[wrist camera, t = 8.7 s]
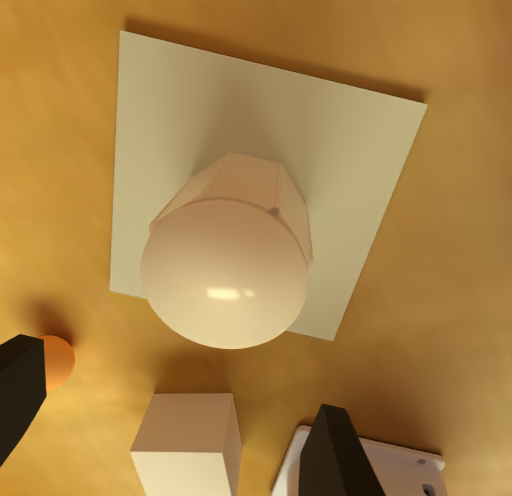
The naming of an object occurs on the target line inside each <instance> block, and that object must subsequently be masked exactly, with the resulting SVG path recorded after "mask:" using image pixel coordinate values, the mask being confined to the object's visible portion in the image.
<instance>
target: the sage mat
mask: <svg viewBox="0 0 512 496" xmlns="http://www.w3.org/2000/svg"><path fill="white" fill-rule="evenodd" d="M427 106H428V104H425V103H420V102H416V101H412V100H408V99H404V98H400V97H396V96H391V95H387V94H383V93H379V92H375V91H371V90H367V89H363V88H358V87H354V86H350V85H346V84H342V83H338V82H334V81H329V80H325V79H321V78H317V77H313V76H309V75H305V74H300V73H296V72H292V71H288V70H284V69H280V68H276V67H272V66H267V65H263V64H259V63H255V62H251V61H247V60H243V59H238V58H234V57H230V56H226V55H222V54H218V53H214V52H209V51H205V50H201V49H197V48H193V47H189V46H185V45H181V44H176V43H172V42H168V41H164V40H160V39H156V38H152V37H147V36H143V35H139V34H135V33H131V32H127V31H122V30H120V45H119V69H118V94H117V118H116V143H115V168H114V192H113V217H112V241H111V266H110V291H113V292H118V293H122V294H126V295H131V296H135V297H140V298H144V299H147V298H146V296H145V293H144V290H143V287H142V283H141V276H140V264H141V257H142V253H143V250H144V247H145V245H146V243H147V241H148V239H149V228H148V226H149V225H150V223H151V222H152V221H153V220H154V219H155V217H156V216H157V215H158V214H159V213H160V212H161V211H162V209H163V208H164V207H165V206H166V205H167V204H168V203H169V201H170V200H171V199H172V198H173V197H174V196H175V195H176V193H177V192H178V191H179V190H180V189H181V188H182V187H183V185H184V184H185V183H186V182H187V181H188V180H189V179H190V177H191V176H195V175H196V174H198V173H199V172H201V171H202V170H204V169H206V168H207V167H209V166H210V165H212V164H213V163H215V162H216V161H218V160H219V159H221V158H223V157H224V156H226V155H227V154H228V153H229V152H230V151H231V152H232V151H234V152H236V153H240V154H244V155H248V156H252V157H257V158H261V159H265V160H269V161H273V162H278V163H280V162H281V163H282V164H283V167H284V169H285V170H286V172H287V173H288V175H289V177H290V178H291V180H292V182H293V183H294V185H295V187H296V188H297V190H298V192H299V193H300V195H301V196H302V198H303V200H304V201H305V203H307V207H308V216H309V224H310V233H311V242H312V250H313V259H314V266H312V269H311V272H310V275H309V278H308V281H307V283H308V285H307V294H306V298H305V302H304V305H303V307H302V309H301V311H300V313H299V315H298V316H297V318H296V319H295V321H294V322H293V323H292V324H291V325H290V326H289V327H288V328H287V329H286V330H285V331H290V332H294V333H298V334H303V335H307V336H312V337H316V338H320V339H325V340H329V341H333V340H334V337H335V335H336V333H337V330H338V328H339V325H340V323H341V320H342V318H343V315H344V313H345V310H346V308H347V305H348V303H349V300H350V298H351V295H352V293H353V290H354V288H355V285H356V283H357V280H358V278H359V275H360V273H361V270H362V268H363V265H364V263H365V260H366V258H367V255H368V253H369V250H370V248H371V245H372V243H373V240H374V238H375V235H376V233H377V230H378V228H379V225H380V223H381V220H382V218H383V215H384V213H385V211H386V208H387V206H388V203H389V201H390V198H391V196H392V193H393V191H394V188H395V186H396V183H397V181H398V178H399V176H400V173H401V171H402V168H403V166H404V163H405V161H406V158H407V156H408V153H409V151H410V148H411V146H412V143H413V141H414V138H415V136H416V133H417V131H418V128H419V126H420V123H421V121H422V118H423V116H424V113H425V111H426V108H427Z"/></svg>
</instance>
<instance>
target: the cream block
mask: <svg viewBox="0 0 512 496" xmlns="http://www.w3.org/2000/svg"><path fill="white" fill-rule="evenodd" d="M130 454H131V456H132V459H133V462H134V464H135V467H136V470H137V472H138V475H139V478H140V480H141V483H142V485H143V488H144V491H145V493H146V496H236V494H237V486H238V478H239V470H240V462H241V454H242V443H241V437H240V432H239V426H238V420H237V415H236V409H235V403H234V398H233V393H199V394H153V397H152V399H151V401H150V404H149V406H148V409H147V411H146V414H145V416H144V418H143V421H142V423H141V426H140V428H139V430H138V433H137V435H136V438H135V440H134V442H133V445H132V447H131V450H130Z"/></svg>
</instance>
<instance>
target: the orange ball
mask: <svg viewBox="0 0 512 496" xmlns="http://www.w3.org/2000/svg"><path fill="white" fill-rule="evenodd" d="M36 338H39V339H44V353H45V373H46V391H49V390H52V389H55V388H57V387H58V386H60V385H61V384H62V383H64V382H65V381H66V380H67V378H68V377H69V376H70V374H71V372H72V370H73V368H74V364H75V356H74V352H73V349H72V347H71V346H70V345H69V343H68V342H66V341H65V340H64V339H62V338H60V337H57V336H52V335H44V336H39V337H36Z"/></svg>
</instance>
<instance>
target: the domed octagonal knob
mask: <svg viewBox="0 0 512 496" xmlns="http://www.w3.org/2000/svg"><path fill="white" fill-rule="evenodd" d="M148 228H149V239H148V241H147V243H146V245H145V247H144V250H143V253H142V257H141V264H140V276H141V283H142V287H143V290H144V293H145V296H146V298H147V300H148V302H149V304H150V305H151V307H152V309H153V310H154V311H155V313H156V314H157V315H158V317H159V318H160V319H161V320H162V321H163V322H164V323H165V324H166V325H168V326H169V327H170V328H171V329H173V330H174V331H175V332H177V333H178V334H180V335H181V336H183V337H185V338H187V339H189V340H191V341H194V342H196V343H199V344H202V345H206V346H209V347H215V348H222V349H241V348H248V347H252V346H256V345H260V344H262V343H265V342H268V341H269V340H271V339H273V338H275V337H277V336H278V335H280V334H281V333H283V332H284V331H285V330H286V329H287V328H288V327H289V326H290V325H291V324H292V323H293V322H294V321H295V319H296V318H297V316H298V315H299V313H300V311H301V309H302V307H303V305H304V302H305V298H306V294H307V285H308V283H307V281H308V278H309V275H310V272H311V269H312V266H314V259H313V250H312V242H311V233H310V224H309V216H308V207H307V203H305V201H304V200H303V198H302V196H301V195H300V193H299V192H298V190H297V188H296V187H295V185H294V183H293V182H292V180H291V178H290V177H289V175H288V173H287V172H286V170H285V169H284V167H283V164H282V163H281V162H280V163H278V162H273V161H269V160H265V159H261V158H257V157H252V156H248V155H244V154H240V153H236V152H234V151H232V152H231V151H230V152H229V153H228V154H227V155H226V156H224V157H223V158H221V159H219V160H218V161H216V162H215V163H213V164H212V165H210V166H209V167H207V168H206V169H204V170H202V171H201V172H199V173H198V174H196V175H195V176H191V177H190V179H189V180H188V181H187V182H186V183H185V184H184V185H183V187H182V188H181V189H180V190H179V191H178V192H177V193H176V195H175V196H174V197H173V198H172V199H171V200H170V201H169V203H168V204H167V205H166V206H165V207H164V208H163V209H162V211H161V212H160V213H159V214H158V215H157V216H156V217H155V219H154V220H153V221H152V222H151V223H150V225H149V226H148Z"/></svg>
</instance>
